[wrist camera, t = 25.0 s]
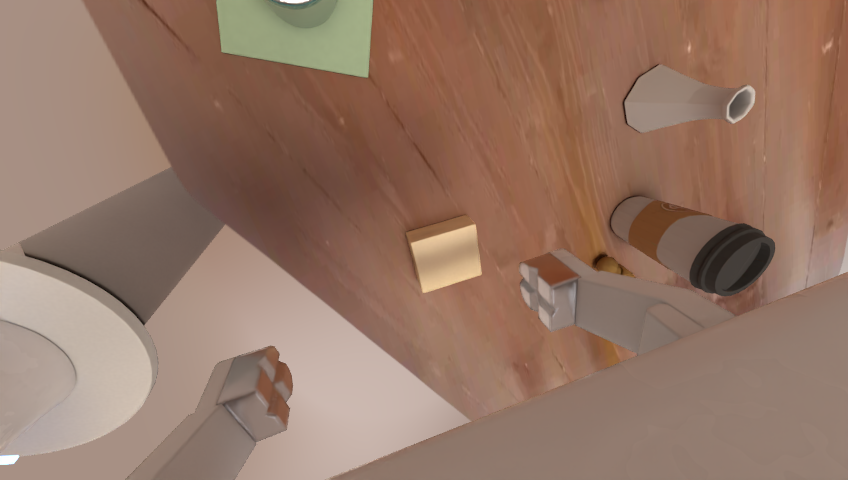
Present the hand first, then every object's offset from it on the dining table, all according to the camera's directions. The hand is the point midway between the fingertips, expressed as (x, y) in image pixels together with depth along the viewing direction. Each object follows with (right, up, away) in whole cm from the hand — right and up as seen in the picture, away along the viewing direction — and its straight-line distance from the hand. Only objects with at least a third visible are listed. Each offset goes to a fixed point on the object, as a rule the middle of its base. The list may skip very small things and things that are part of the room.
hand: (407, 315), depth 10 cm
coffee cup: (+31, +6, +36) cm, 47 cm away
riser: (+3, +1, +30) cm, 30 cm away
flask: (+28, +20, +28) cm, 44 cm away
